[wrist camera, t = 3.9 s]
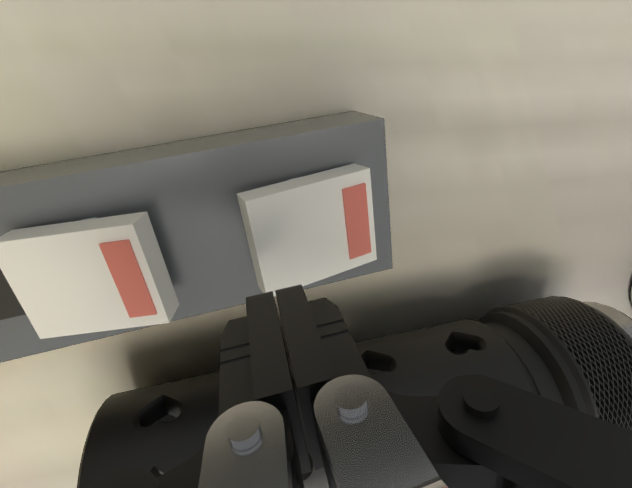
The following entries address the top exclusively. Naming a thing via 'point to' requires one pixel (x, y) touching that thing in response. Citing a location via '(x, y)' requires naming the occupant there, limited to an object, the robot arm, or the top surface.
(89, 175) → the switch strip
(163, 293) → the rocker
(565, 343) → the muzzle brake
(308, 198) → the rocker
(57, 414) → the top surface
